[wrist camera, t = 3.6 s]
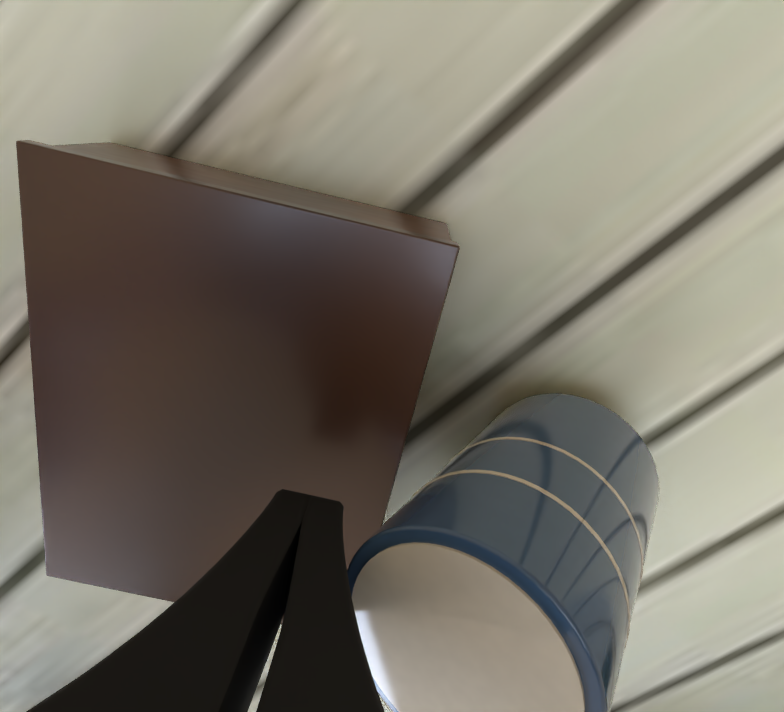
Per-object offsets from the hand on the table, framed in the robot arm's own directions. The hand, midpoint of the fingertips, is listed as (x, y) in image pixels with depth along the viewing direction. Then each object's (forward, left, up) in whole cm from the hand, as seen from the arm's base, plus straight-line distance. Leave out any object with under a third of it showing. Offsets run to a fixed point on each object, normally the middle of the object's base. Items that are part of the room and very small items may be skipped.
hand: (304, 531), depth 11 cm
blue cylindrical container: (+4, 0, -5) cm, 7 cm away
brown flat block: (-3, 0, -6) cm, 6 cm away
